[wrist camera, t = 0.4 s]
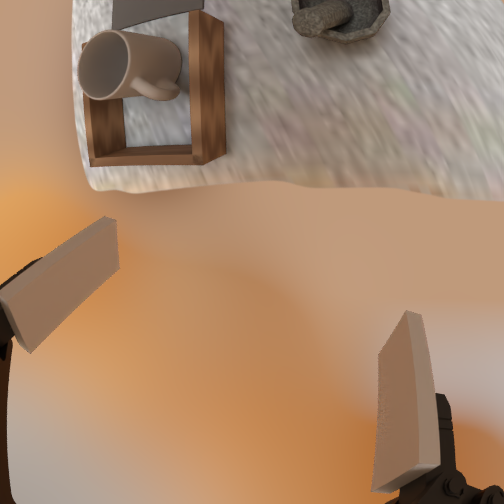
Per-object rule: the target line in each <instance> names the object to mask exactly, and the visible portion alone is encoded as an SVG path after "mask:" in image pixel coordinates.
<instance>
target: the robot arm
mask: <svg viewBox="0 0 504 504" xmlns="http://www.w3.org/2000/svg"><path fill="white" fill-rule="evenodd" d="M119 268H120V267H119V255H118V242H117V224H116V220H115V219H111V218H108V217H105V216H104V217H103V218H101V219H99V220H98V221H96V222H94V223H93V224H91V225H90V226H88V227H87V228H85V229H84V230H82V231H80V232H79V233H78V234H76V235H74V236H73V237H72V238H70V239H69V240H67V241H66V242H64V243H63V244H61V245H60V246H58V247H57V248H55V249H54V250H53V251H51V252H50V253H48V254H47V255H46V256H44V257H41V258H39V259H36V260H34V261H32V262H30V263H29V264H28V265H26V266H25V267H24V268H23V269H21V270H20V271H18V272H17V274H14V275H13V276H12V277H10V278H9V279H8V280H7V281H5V282H4V283H3V284H1V285H0V504H16V503H15V501H14V500H13V498H12V494H11V487H10V479H9V469H8V456H7V455H8V454H7V398H8V382H9V372H10V362H11V354H12V347H13V343H12V340H11V338H12V337H13V336H14V335H15V337H16V339H17V341H18V343H19V345H20V346H21V347H22V348H24V349H25V350H26V351H27V352H29V353H30V354H31V353H32V352H33V351H34V350H35V349H36V348H37V347H38V346H39V345H40V344H41V342H42V341H44V340H45V339H46V338H47V336H49V335H50V334H51V332H52V331H54V330H55V328H57V326H58V325H60V324H61V323H62V322H63V321H64V320H65V319H66V318H67V317H68V316H69V315H70V314H71V313H72V312H73V311H74V310H75V309H76V308H77V307H78V306H79V305H80V304H81V303H82V302H83V301H85V300H86V299H87V298H88V297H89V296H90V295H91V294H92V293H93V292H94V291H95V290H96V289H98V287H100V286H101V285H102V284H103V283H104V282H105V281H106V280H107V279H109V278H110V277H111V276H112V275H113V274H114V273H115V272H116V271H117V270H119ZM378 368H379V369H378V371H379V373H378V374H379V375H378V377H379V378H378V417H377V435H376V448H375V460H374V470H373V479H372V487H371V492H377V493H392V492H394V491H396V490H398V489H400V494H399V497H397V498H395V499H393V500H390V501H388V502H387V503H385V504H504V491H503V489H501V488H500V487H499V486H496V485H493V486H489V487H488V488H486V489H484V490H480V489H477V488H474V487H472V486H469V485H467V483H466V479H465V477H464V476H463V474H462V473H461V472H459V471H458V470H456V463H455V446H454V435H453V431H452V430H453V424H452V421H451V420H452V417H451V408H450V405H449V403H448V401H447V399H446V397H445V395H444V394H438V393H435V388H434V380H433V374H432V368H431V362H430V355H429V350H428V344H427V339H426V334H425V329H424V324H423V320H422V316H421V315H420V314H417V313H414V312H410V311H407V310H406V311H405V313H404V315H403V316H402V318H401V320H400V321H399V323H398V325H397V326H396V328H395V329H394V331H393V333H392V334H391V336H390V338H389V339H388V341H387V342H386V344H385V345H384V347H383V348H382V350H381V351H380V353H379V354H378Z"/></svg>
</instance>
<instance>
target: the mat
mask: <svg viewBox="0 0 504 504" xmlns="http://www.w3.org/2000/svg"><path fill="white" fill-rule="evenodd" d="M200 9H204V0H113V12H112V30H121V29H124V28H127V27H130V26H134V25H137V24H140V23H144V22H147V21H151V20H155V19H159V18H162V17H167V16H171V15H175V14H180V13H184V12H189V11H194V10H200Z"/></svg>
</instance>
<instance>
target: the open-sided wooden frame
mask: <svg viewBox="0 0 504 504" xmlns="http://www.w3.org/2000/svg"><path fill="white" fill-rule="evenodd" d="M86 44H87V42H86V43H83V44H82V50H83V48H84V47H85V45H86ZM189 89H190V116H191V137H192V145H163V146H143V147H127V148H126V142H125V131H124V118H123V103H122V98H117V99H108V100H95V99H92V98H90V97H88V96H87V95H86V94H85V93H84V92H83V102H84V116H85V127H86V137H87V146H88V154H89V162H90V167H103V166H129V165H204V164H206V163H208V162H210V161H212V160H214V159H216V158H218V157H220V156H222V155H224V154H226V133H225V92H224V22H222V21H220V20H218V19H216V18H215V17H213V16H211V15H209V14H207V13H205V12H203V11H201V10H194V11H189Z"/></svg>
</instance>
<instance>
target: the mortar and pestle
mask: <svg viewBox="0 0 504 504" xmlns="http://www.w3.org/2000/svg"><path fill="white" fill-rule="evenodd" d="M291 3H292V10H293V13H294V16H293V19H292V22H293V26H294V29H295V30H296V31H297V32H298V33H299V34H300V35H301V36H306V37H310V38H312V37H315V36H318V37H321V38H325V39H329V40H333V41H336V42H340V43H344V44H348V43H351V42H355V41H358V40H362V39H366V38H370V37H373V36H374V35H375V34H376V33H377V31H378V30H379V28H380V27H381V26H382V24H383V23H384V22H385V20H386V19H387V17H388V16H389V14H390V6H389V0H291Z"/></svg>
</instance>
